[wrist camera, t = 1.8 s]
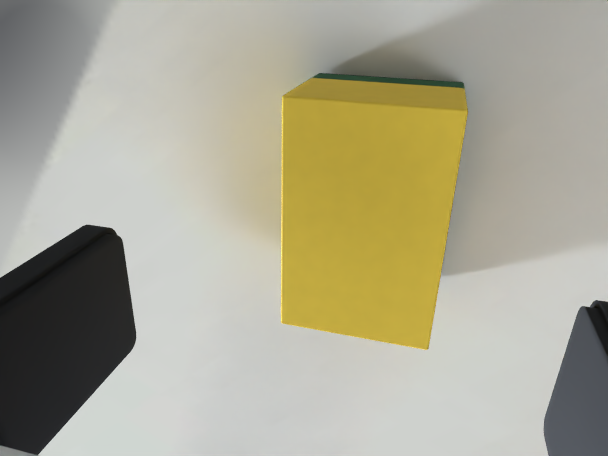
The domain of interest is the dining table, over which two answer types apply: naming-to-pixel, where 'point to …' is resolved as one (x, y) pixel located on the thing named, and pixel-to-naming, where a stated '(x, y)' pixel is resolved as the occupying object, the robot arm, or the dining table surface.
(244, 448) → the dining table surface
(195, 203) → the dining table surface
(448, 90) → the sponge
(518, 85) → the dining table surface
